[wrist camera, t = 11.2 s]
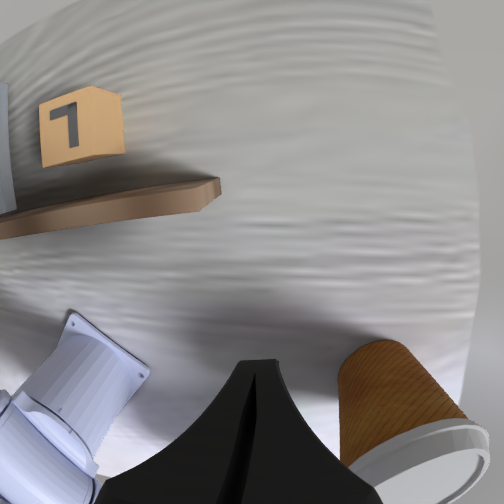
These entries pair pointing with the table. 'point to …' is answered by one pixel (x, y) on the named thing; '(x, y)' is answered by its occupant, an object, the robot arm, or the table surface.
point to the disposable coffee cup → (406, 429)
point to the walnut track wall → (113, 208)
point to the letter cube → (81, 127)
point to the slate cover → (5, 156)
